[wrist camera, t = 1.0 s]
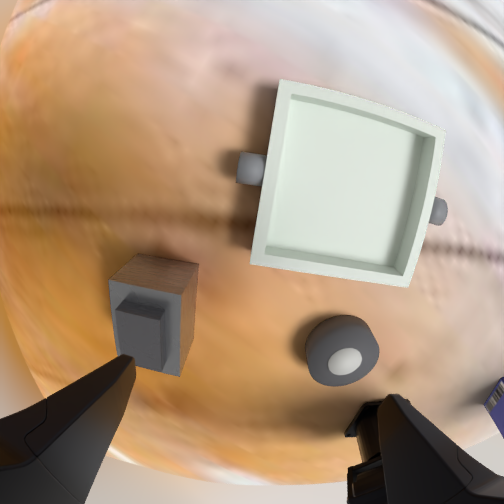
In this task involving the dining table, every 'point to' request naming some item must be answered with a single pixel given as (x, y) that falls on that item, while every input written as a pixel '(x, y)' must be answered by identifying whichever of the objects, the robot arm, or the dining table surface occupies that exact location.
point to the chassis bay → (344, 186)
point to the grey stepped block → (154, 311)
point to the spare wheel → (341, 351)
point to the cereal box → (497, 405)
